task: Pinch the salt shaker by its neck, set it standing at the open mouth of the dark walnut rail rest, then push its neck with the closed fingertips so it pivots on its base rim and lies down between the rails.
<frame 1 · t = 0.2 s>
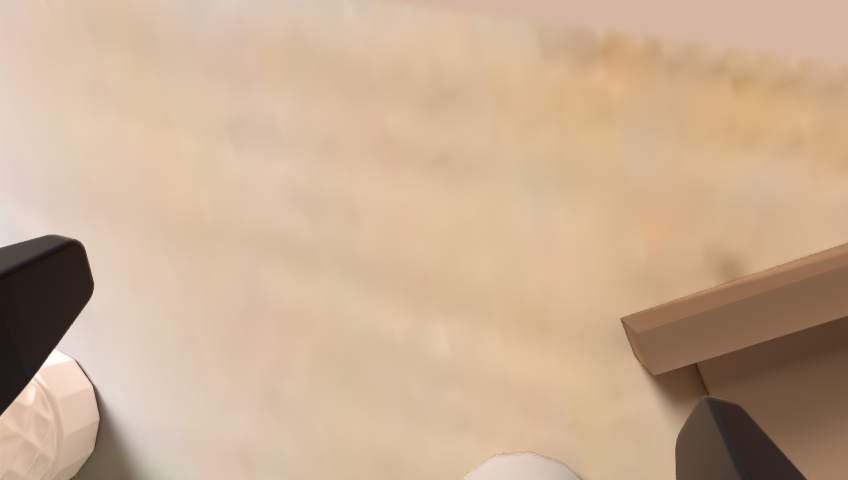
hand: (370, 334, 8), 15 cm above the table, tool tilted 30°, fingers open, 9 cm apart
white cup: (40, 412, 26), on the table
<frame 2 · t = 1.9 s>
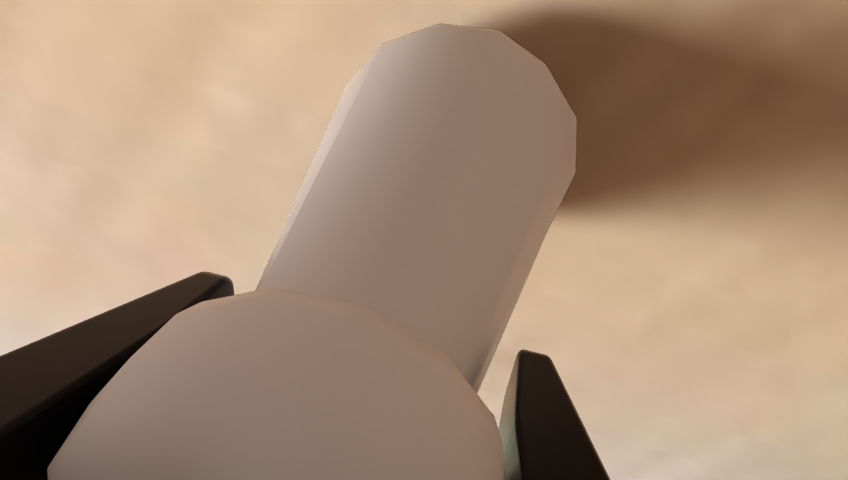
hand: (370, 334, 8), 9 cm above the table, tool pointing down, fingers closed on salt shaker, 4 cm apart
salt shaker: (467, 116, 15), on the table, touching gripper
when the fingers open (9 cm above the table, at t = 4.2 s): salt shaker stays where it is, on the table.
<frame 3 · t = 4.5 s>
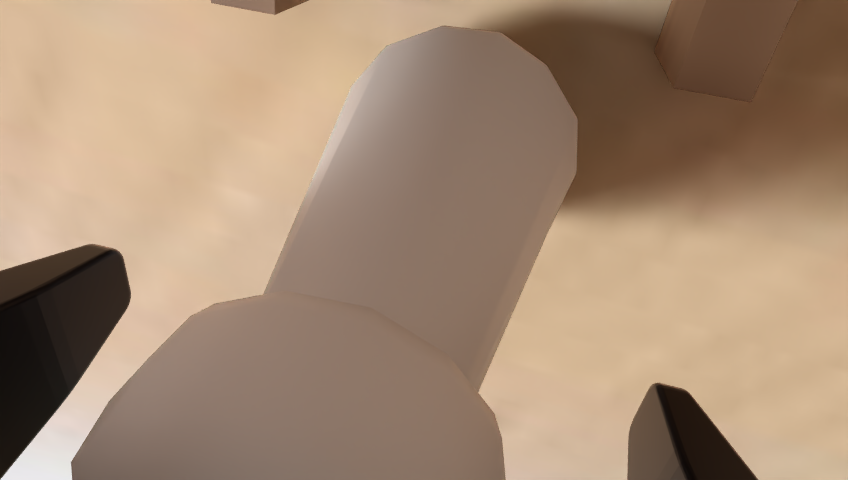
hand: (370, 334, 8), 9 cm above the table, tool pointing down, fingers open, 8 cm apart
salt shaker: (470, 115, 16), on the table
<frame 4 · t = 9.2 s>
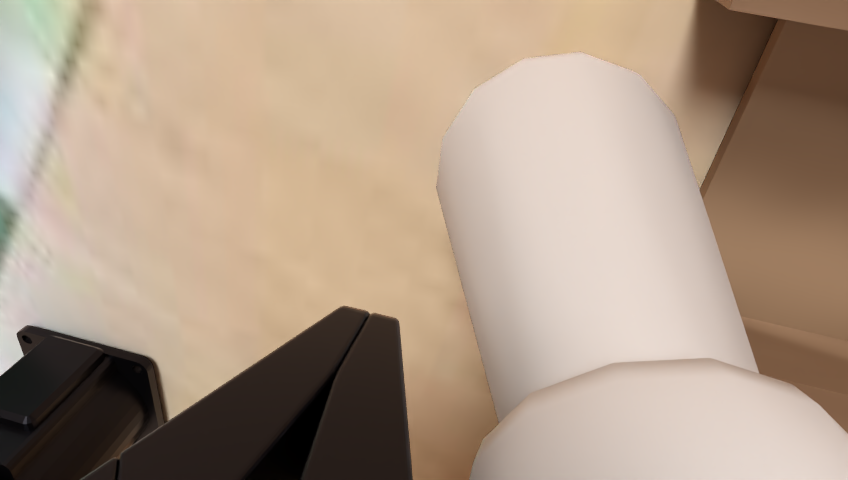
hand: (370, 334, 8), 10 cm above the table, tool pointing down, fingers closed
salt shaker: (544, 136, 16), on the table
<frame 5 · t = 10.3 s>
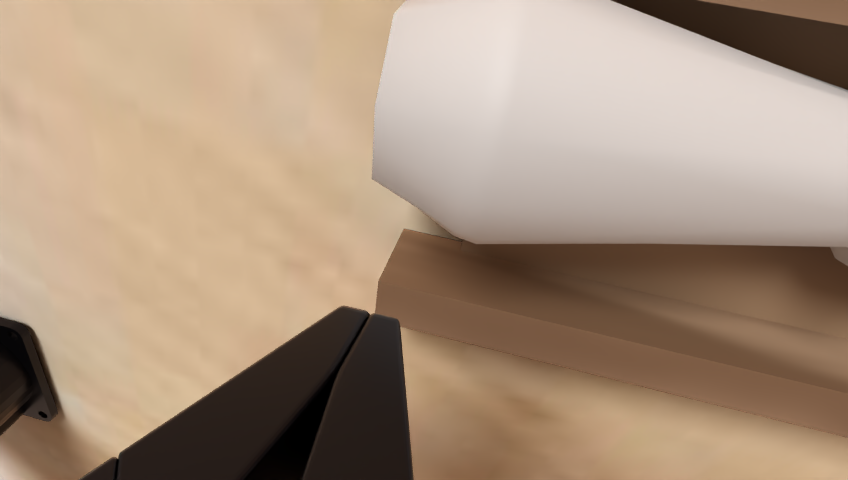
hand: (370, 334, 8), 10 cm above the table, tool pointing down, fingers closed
salt shaker: (383, 93, 12), point 4 cm above the table, touching rest
rest: (674, 157, 15), on the table
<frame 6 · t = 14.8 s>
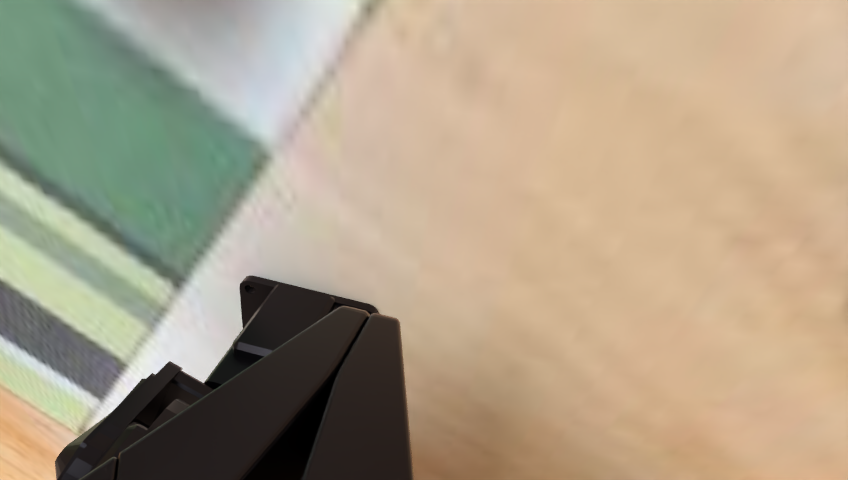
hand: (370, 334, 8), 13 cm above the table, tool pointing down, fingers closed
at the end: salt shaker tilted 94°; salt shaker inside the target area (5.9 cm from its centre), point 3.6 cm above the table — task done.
